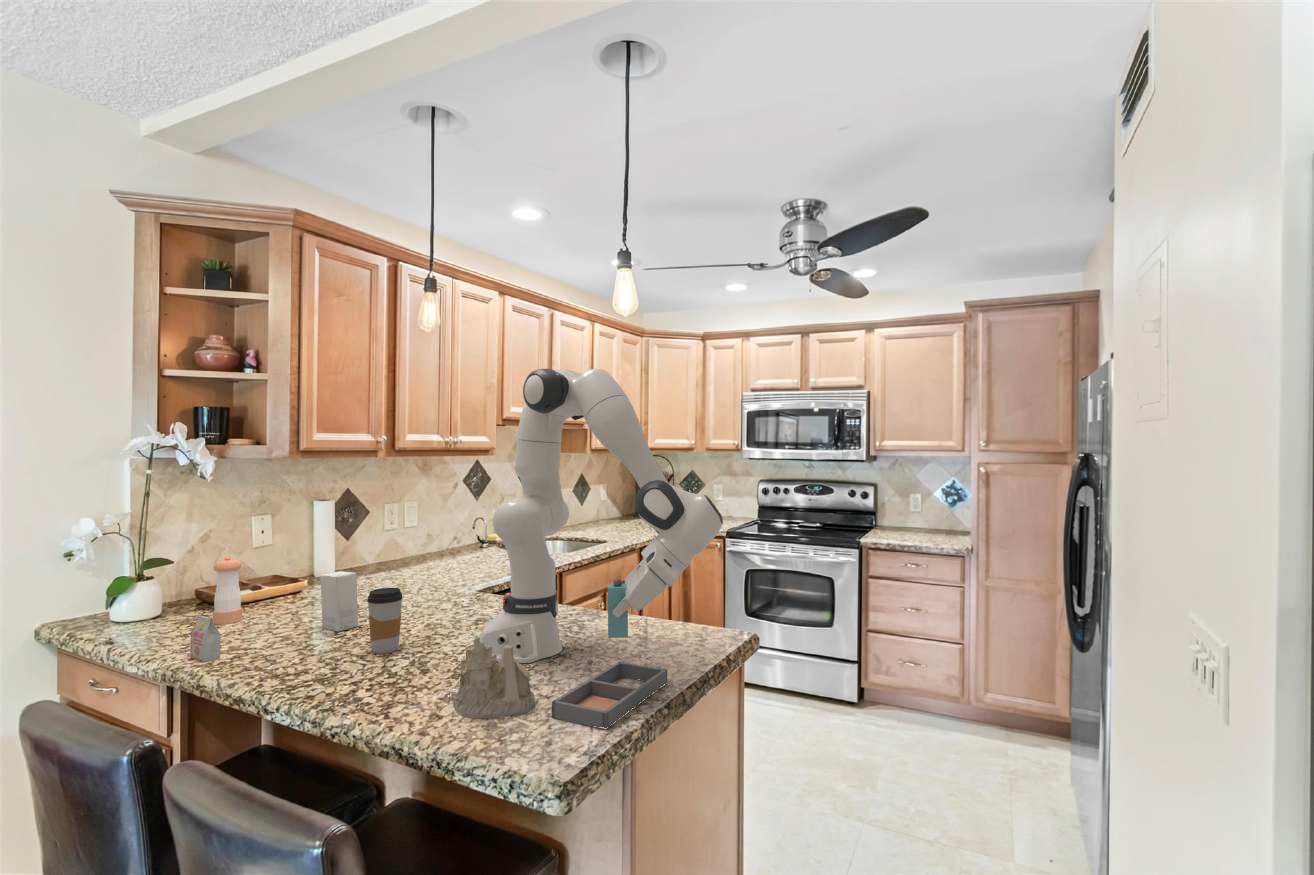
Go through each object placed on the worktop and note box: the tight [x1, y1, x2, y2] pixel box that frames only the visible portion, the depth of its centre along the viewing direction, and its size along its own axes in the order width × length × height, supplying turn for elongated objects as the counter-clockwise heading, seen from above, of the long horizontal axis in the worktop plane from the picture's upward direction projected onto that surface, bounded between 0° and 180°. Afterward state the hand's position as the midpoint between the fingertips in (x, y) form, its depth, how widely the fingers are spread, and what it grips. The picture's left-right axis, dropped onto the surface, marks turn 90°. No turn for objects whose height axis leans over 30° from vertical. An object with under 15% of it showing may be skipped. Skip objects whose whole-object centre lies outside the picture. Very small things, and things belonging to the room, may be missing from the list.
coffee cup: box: [366, 587, 403, 655], centre depth 162 cm, size 8×8×15 cm
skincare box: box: [320, 570, 359, 632], centre depth 183 cm, size 8×7×16 cm
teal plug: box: [607, 578, 629, 639], centre depth 130 cm, size 4×4×11 cm
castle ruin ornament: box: [452, 635, 536, 720], centre depth 128 cm, size 16×16×15 cm
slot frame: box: [551, 661, 668, 728], centre depth 129 cm, size 25×12×3 cm, turn 153°
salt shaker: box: [212, 556, 243, 625], centre depth 191 cm, size 7×7×19 cm
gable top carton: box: [189, 615, 221, 663], centre depth 157 cm, size 4×7×10 cm, turn 58°
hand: (614, 611), depth 130 cm, fingers closed on teal plug, 4 cm apart
